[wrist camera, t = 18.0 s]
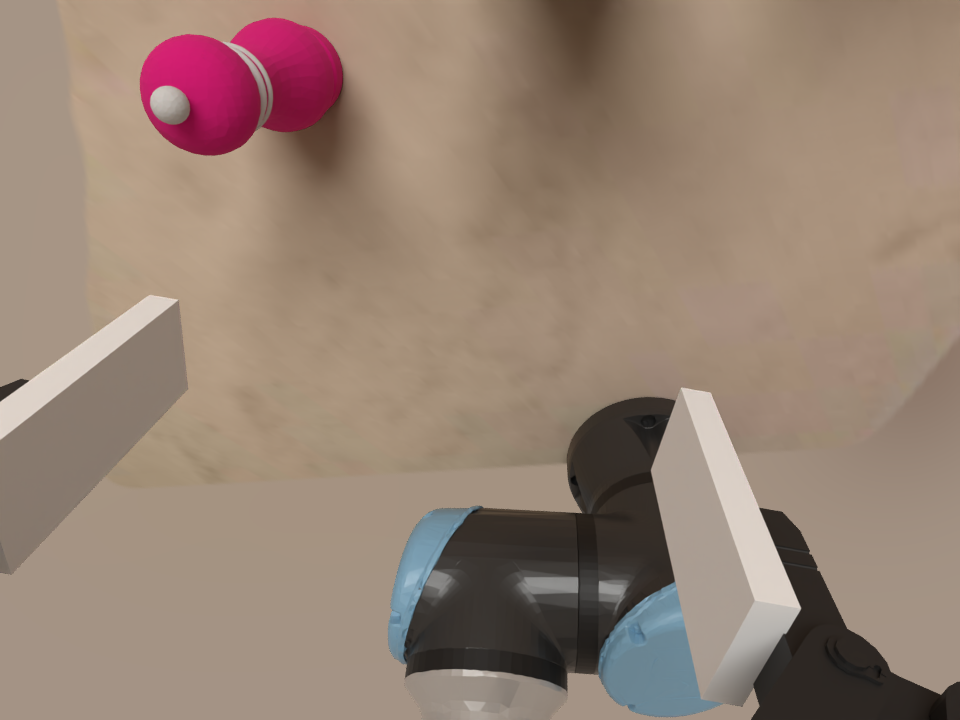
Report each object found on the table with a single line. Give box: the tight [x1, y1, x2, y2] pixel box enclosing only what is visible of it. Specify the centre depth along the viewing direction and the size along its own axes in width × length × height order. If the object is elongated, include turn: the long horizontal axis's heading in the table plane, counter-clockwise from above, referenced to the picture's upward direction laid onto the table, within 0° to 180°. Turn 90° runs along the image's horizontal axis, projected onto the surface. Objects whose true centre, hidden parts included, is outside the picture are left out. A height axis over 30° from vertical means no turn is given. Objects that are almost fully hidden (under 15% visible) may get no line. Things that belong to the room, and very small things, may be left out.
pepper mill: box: [140, 18, 343, 155], centre depth 39 cm, size 7×7×20 cm
